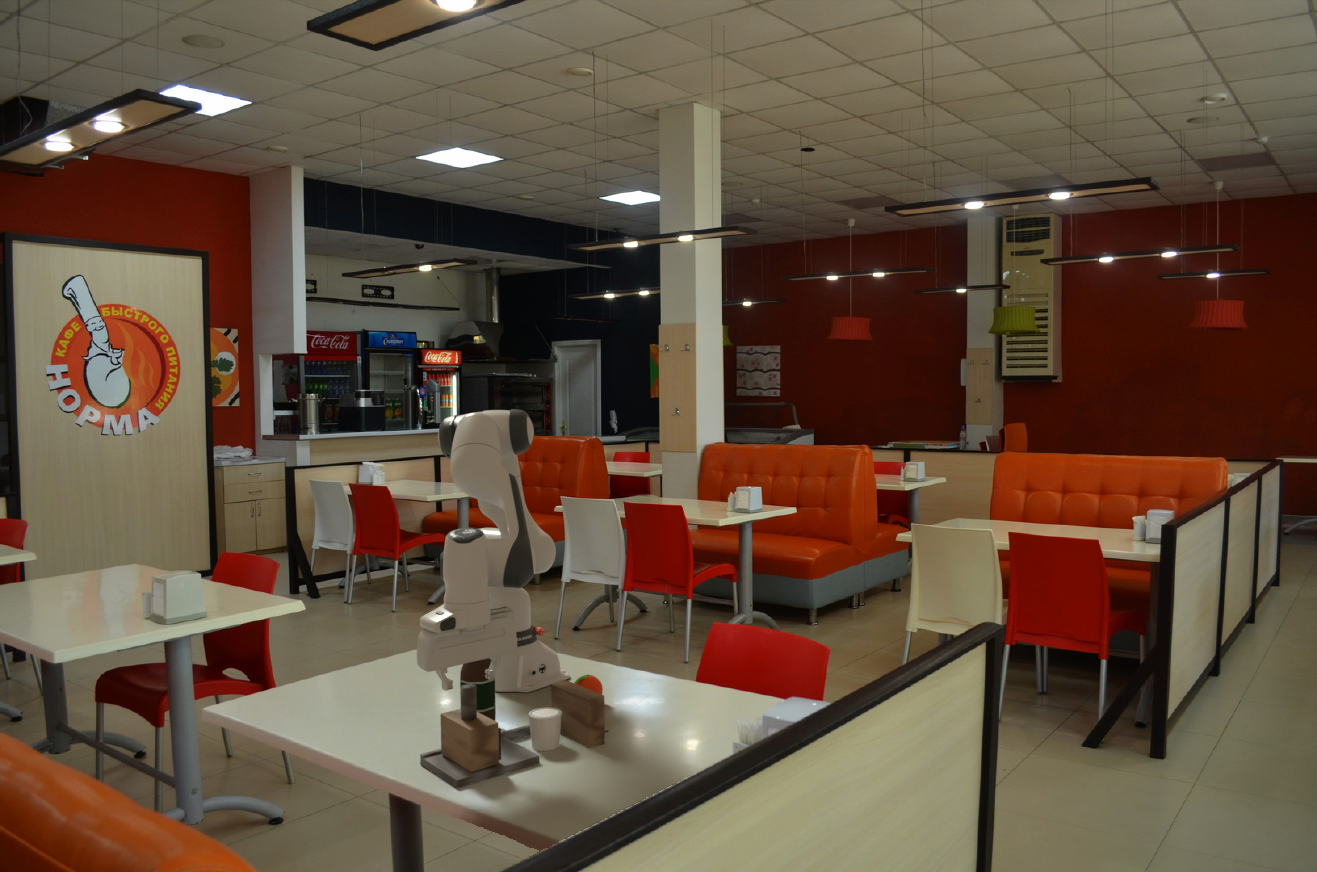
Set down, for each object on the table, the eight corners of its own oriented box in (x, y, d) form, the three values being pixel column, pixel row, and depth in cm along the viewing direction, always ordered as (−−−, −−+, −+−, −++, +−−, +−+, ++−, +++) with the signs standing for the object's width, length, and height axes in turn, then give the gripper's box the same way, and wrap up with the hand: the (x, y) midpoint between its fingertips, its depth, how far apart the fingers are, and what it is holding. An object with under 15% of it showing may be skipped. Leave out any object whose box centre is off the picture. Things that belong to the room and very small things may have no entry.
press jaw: (472, 745, 191) (470, 675, 190) (502, 762, 182) (501, 689, 181) (441, 753, 186) (439, 682, 186) (471, 772, 177) (469, 697, 177)
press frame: (564, 723, 208) (563, 679, 207) (604, 743, 196) (604, 695, 196) (420, 764, 186) (419, 714, 185) (456, 788, 174) (455, 734, 174)
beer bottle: (466, 735, 201) (464, 624, 200) (456, 724, 208) (454, 616, 207) (501, 729, 205) (499, 619, 204) (490, 718, 212) (488, 612, 210)
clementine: (581, 713, 215) (580, 682, 214) (563, 705, 220) (563, 675, 220) (609, 705, 220) (608, 674, 220) (590, 697, 225) (590, 668, 225)
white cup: (529, 740, 198) (529, 707, 198) (562, 738, 199) (562, 706, 198) (528, 752, 191) (527, 718, 191) (562, 751, 192) (561, 717, 192)
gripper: (505, 601, 192) (507, 668, 192) (411, 619, 178) (414, 691, 179) (522, 607, 187) (524, 676, 188) (427, 626, 174) (429, 699, 174)
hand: (469, 683), depth 183 cm, fingers open, 8 cm apart
